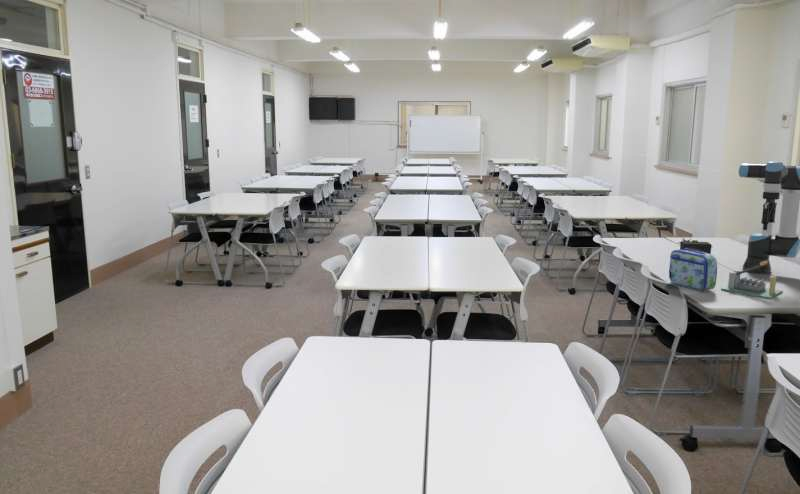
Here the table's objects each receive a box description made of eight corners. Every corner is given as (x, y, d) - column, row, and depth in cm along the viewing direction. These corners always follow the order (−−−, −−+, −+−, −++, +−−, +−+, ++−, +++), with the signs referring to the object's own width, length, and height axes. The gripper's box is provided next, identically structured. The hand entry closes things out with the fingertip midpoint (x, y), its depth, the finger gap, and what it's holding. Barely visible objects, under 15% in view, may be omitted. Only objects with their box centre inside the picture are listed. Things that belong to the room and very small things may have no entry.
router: (711, 275, 358) (714, 242, 354) (678, 274, 361) (681, 241, 358) (707, 272, 366) (710, 240, 362) (675, 271, 369) (678, 239, 365)
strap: (739, 274, 328) (737, 270, 329) (768, 263, 317) (766, 260, 317) (736, 275, 326) (734, 271, 326) (766, 265, 314) (764, 261, 314)
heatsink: (742, 285, 330) (744, 276, 329) (765, 289, 322) (766, 279, 321) (736, 289, 324) (737, 279, 323) (758, 293, 316) (759, 283, 315)
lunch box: (665, 282, 343) (667, 246, 339) (679, 280, 347) (682, 245, 343) (701, 293, 319) (705, 255, 315) (717, 291, 323) (720, 253, 319)
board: (734, 284, 338) (736, 266, 336) (782, 292, 320) (784, 274, 318) (721, 290, 326) (722, 272, 324) (770, 299, 308) (772, 280, 306)
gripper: (769, 189, 321) (764, 232, 326) (757, 192, 310) (752, 236, 314) (785, 190, 316) (780, 234, 320) (773, 193, 304) (768, 238, 309)
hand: (766, 235), depth 317 cm, fingers open, 5 cm apart
